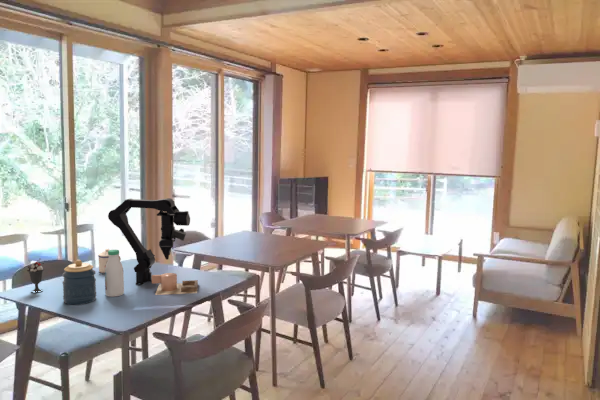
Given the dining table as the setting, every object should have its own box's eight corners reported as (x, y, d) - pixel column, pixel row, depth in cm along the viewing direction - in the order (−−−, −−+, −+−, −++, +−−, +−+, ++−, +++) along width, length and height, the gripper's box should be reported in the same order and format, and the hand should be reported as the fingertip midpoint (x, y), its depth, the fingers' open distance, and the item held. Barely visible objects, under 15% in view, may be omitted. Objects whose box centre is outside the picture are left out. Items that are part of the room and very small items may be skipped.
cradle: (155, 296, 211) (155, 290, 211) (159, 286, 226) (158, 280, 226) (196, 295, 214) (196, 288, 214) (197, 284, 230) (197, 278, 229)
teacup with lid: (105, 274, 245) (104, 252, 244) (95, 271, 250) (94, 249, 249) (125, 269, 255) (125, 248, 254) (115, 266, 260) (114, 245, 259)
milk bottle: (127, 292, 216) (126, 249, 213) (116, 298, 209) (114, 253, 206) (113, 290, 218) (112, 247, 216) (101, 295, 211) (100, 251, 209)
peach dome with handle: (177, 286, 224) (177, 272, 223) (176, 290, 217) (176, 276, 216) (153, 287, 222) (152, 273, 221) (151, 291, 215) (150, 277, 214)
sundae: (48, 290, 218) (47, 258, 216) (35, 294, 211) (33, 261, 210) (38, 288, 220) (37, 256, 218) (25, 292, 214) (23, 259, 212)
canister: (75, 307, 196) (73, 265, 194) (56, 301, 203) (55, 260, 201) (103, 298, 207) (101, 259, 205) (84, 293, 214) (83, 254, 212)
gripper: (183, 228, 220) (184, 261, 222) (185, 221, 238) (186, 252, 240) (158, 228, 218) (159, 262, 220) (162, 221, 236) (163, 252, 238)
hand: (168, 257), depth 230 cm, fingers open, 9 cm apart
